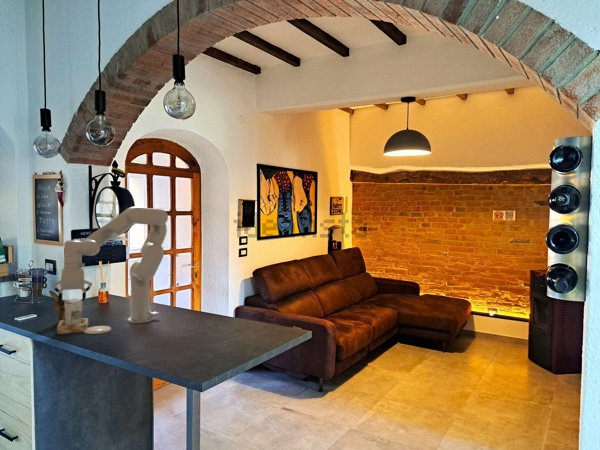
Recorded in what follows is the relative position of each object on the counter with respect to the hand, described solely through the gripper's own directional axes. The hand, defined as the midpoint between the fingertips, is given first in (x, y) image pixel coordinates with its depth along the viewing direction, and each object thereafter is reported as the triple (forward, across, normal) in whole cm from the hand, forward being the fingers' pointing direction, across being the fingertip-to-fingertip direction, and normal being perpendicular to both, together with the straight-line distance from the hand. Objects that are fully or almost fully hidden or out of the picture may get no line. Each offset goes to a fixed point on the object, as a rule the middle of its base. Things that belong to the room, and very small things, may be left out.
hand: (72, 301), depth 211 cm
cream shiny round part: (+14, -12, +6) cm, 19 cm away
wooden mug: (+14, +5, -14) cm, 21 cm away
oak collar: (+14, -1, 0) cm, 14 cm away
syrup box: (+14, -1, 0) cm, 14 cm away
